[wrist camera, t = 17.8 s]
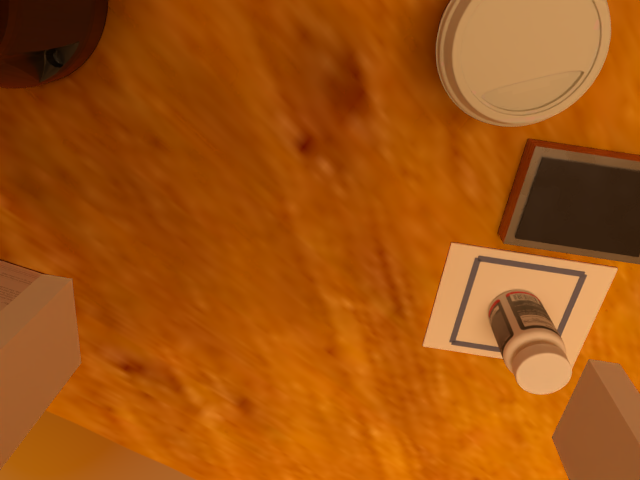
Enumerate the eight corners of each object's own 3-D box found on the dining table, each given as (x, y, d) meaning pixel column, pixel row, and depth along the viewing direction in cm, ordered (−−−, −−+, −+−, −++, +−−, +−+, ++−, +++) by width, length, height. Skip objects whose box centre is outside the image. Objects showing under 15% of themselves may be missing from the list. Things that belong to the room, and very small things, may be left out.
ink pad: (497, 232, 42) (504, 245, 40) (527, 138, 39) (537, 147, 36) (630, 252, 42) (643, 266, 40) (673, 160, 38) (690, 170, 36)
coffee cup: (400, 69, 37) (413, 104, 26) (449, -60, 33) (488, -81, 23) (509, 107, 38) (565, 156, 27) (569, -16, 34) (662, -16, 23)
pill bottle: (505, 341, 47) (532, 409, 39) (476, 307, 45) (498, 370, 38) (552, 314, 45) (589, 380, 38) (524, 278, 44) (556, 339, 36)
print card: (422, 344, 48) (422, 346, 48) (451, 242, 43) (451, 243, 43) (570, 368, 48) (571, 370, 47) (616, 267, 43) (618, 269, 42)
